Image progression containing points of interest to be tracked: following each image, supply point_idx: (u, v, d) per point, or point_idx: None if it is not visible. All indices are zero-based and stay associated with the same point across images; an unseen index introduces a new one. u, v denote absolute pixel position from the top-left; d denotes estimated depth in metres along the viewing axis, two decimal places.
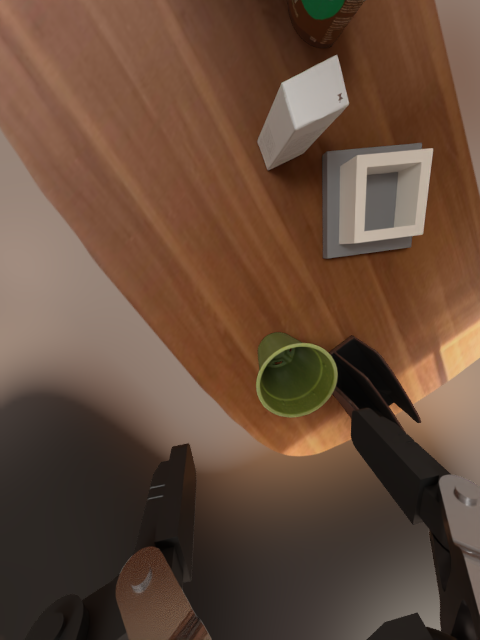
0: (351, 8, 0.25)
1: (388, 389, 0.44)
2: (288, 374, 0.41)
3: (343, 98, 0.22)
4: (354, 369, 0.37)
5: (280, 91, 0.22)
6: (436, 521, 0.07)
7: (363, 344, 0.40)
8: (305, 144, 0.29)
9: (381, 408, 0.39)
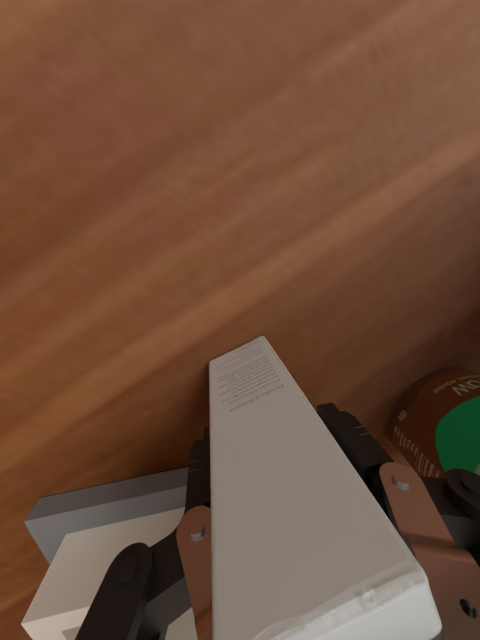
0: None
1: None
2: None
3: None
4: None
5: (381, 539, 0.04)
6: None
7: None
8: None
9: None
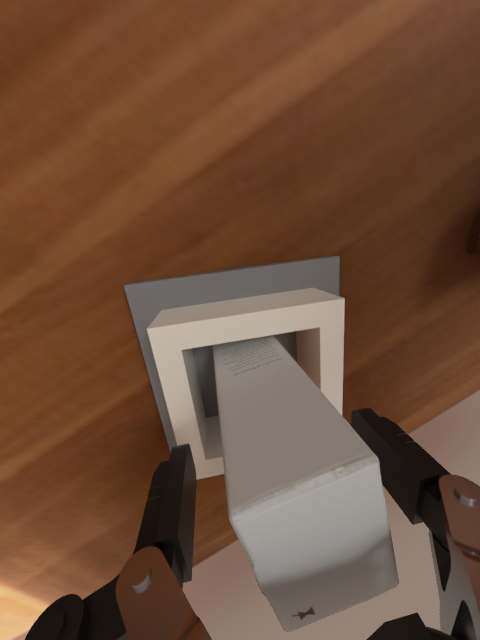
0: None
1: None
2: None
3: (299, 621, 0.07)
4: None
5: (351, 442, 0.06)
6: (436, 521, 0.07)
7: None
8: None
9: None
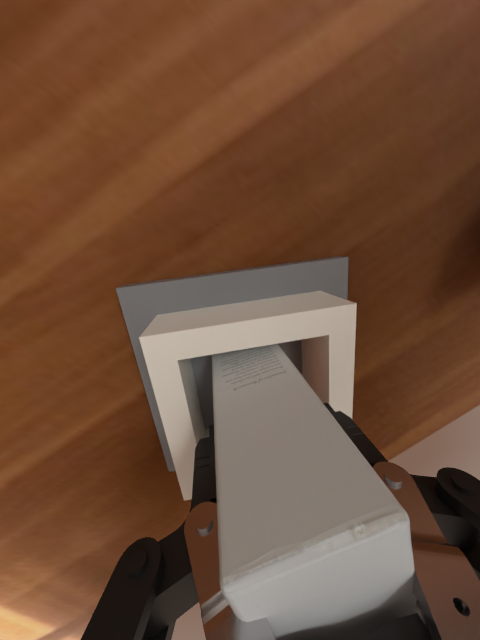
0: None
1: None
2: None
3: None
4: None
5: (372, 490, 0.05)
6: None
7: None
8: None
9: None
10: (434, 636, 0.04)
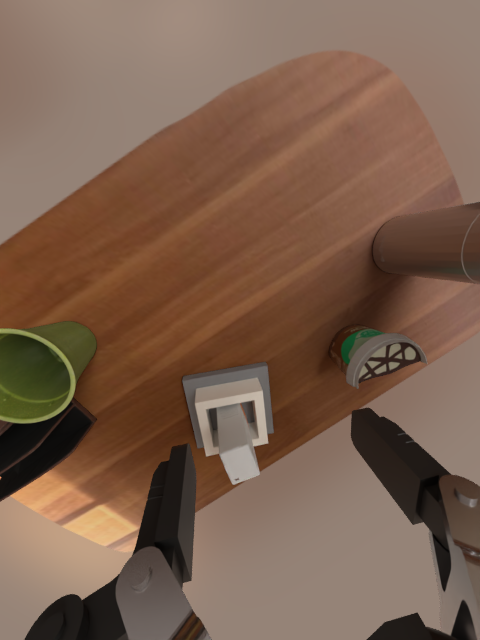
0: (344, 368, 0.37)
1: (20, 470, 0.37)
2: (36, 361, 0.33)
3: (235, 481, 0.31)
4: (47, 433, 0.32)
5: (244, 441, 0.30)
6: (436, 521, 0.07)
7: (83, 434, 0.36)
8: None
9: None
10: None
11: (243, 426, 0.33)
